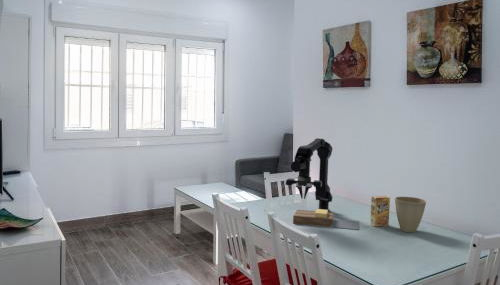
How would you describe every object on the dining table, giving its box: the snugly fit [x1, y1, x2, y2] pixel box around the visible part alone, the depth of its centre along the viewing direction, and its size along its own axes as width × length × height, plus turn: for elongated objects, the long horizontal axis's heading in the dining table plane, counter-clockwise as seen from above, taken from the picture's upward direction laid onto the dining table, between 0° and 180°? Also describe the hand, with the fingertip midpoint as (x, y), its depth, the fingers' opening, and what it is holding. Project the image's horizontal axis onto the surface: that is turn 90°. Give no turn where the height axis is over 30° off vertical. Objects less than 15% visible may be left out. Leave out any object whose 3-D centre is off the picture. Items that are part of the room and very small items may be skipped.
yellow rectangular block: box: [315, 208, 328, 218], centre depth 227 cm, size 9×6×2 cm, turn 165°
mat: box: [331, 218, 360, 231], centre depth 224 cm, size 16×13×1 cm
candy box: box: [369, 195, 391, 227], centre depth 224 cm, size 9×4×15 cm, turn 107°
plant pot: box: [394, 196, 427, 233], centre depth 216 cm, size 15×15×16 cm
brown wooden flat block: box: [292, 209, 335, 228], centre depth 228 cm, size 14×20×4 cm
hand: (303, 198), depth 229 cm, fingers closed
